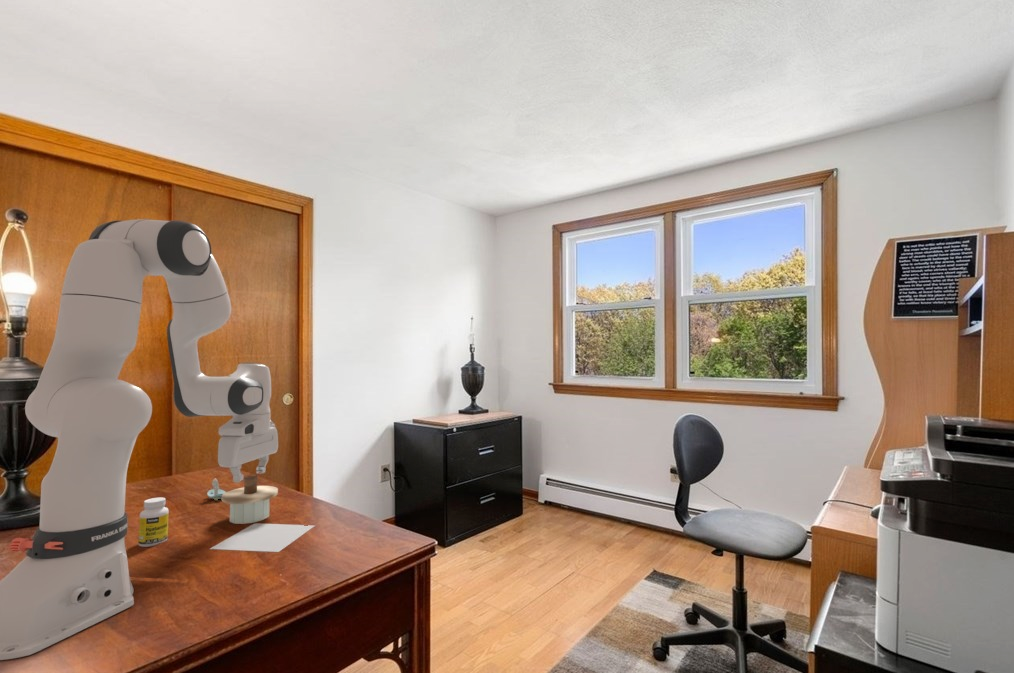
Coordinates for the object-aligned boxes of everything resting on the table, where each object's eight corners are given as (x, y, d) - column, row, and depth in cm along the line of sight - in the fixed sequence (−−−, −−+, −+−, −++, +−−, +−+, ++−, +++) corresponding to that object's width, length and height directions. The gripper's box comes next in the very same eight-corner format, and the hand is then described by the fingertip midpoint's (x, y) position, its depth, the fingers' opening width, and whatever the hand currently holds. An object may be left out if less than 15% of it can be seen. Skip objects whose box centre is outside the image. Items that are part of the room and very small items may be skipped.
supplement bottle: (142, 549, 105) (144, 504, 105) (134, 543, 108) (136, 500, 108) (171, 542, 109) (172, 499, 109) (163, 536, 112) (164, 494, 113)
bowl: (255, 526, 119) (255, 501, 120) (221, 524, 120) (222, 500, 120) (276, 514, 128) (276, 491, 129) (244, 513, 129) (245, 490, 129)
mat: (278, 554, 102) (278, 551, 102) (209, 551, 104) (209, 548, 104) (315, 527, 118) (315, 525, 118) (254, 525, 120) (254, 523, 120)
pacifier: (227, 494, 147) (205, 497, 143) (229, 474, 148) (206, 476, 144) (234, 499, 142) (211, 503, 138) (235, 478, 143) (212, 481, 138)
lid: (258, 504, 117) (259, 484, 118) (209, 503, 119) (210, 482, 119) (287, 489, 130) (288, 471, 130) (242, 488, 131) (243, 470, 132)
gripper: (264, 419, 136) (262, 468, 135) (213, 429, 115) (211, 487, 115) (285, 419, 135) (283, 468, 134) (237, 430, 115) (235, 487, 114)
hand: (249, 477), depth 124 cm, fingers open, 8 cm apart
